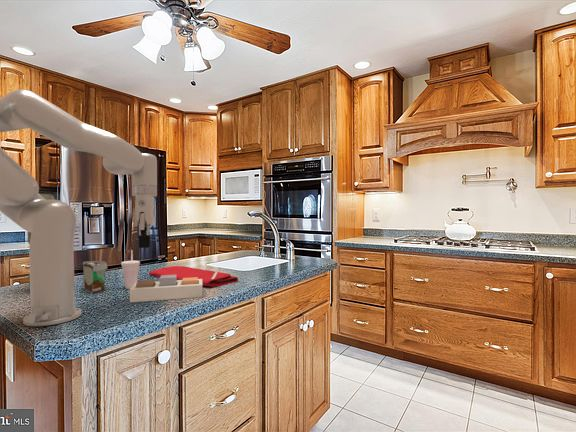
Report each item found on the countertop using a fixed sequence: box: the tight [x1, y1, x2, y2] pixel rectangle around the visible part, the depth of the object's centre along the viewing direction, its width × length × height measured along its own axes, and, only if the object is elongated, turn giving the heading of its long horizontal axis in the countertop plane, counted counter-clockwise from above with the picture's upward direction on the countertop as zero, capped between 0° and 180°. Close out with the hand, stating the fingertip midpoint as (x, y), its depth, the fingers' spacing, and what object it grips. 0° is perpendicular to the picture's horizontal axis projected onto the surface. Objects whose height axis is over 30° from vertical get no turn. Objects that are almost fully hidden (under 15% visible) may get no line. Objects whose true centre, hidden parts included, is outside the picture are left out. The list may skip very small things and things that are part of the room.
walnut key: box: [136, 279, 156, 288], centre depth 107 cm, size 5×5×3 cm
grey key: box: [159, 275, 177, 286], centre depth 109 cm, size 5×5×3 cm
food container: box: [82, 260, 108, 295], centre depth 117 cm, size 12×6×10 cm, turn 47°
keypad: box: [129, 279, 203, 303], centre depth 109 cm, size 10×22×4 cm, turn 105°
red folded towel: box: [148, 265, 239, 288], centre depth 137 cm, size 16×41×4 cm, turn 52°
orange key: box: [182, 277, 198, 285], centre depth 111 cm, size 5×5×3 cm
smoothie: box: [120, 249, 141, 290], centre depth 120 cm, size 6×6×14 cm
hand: (144, 247), depth 106 cm, fingers closed
